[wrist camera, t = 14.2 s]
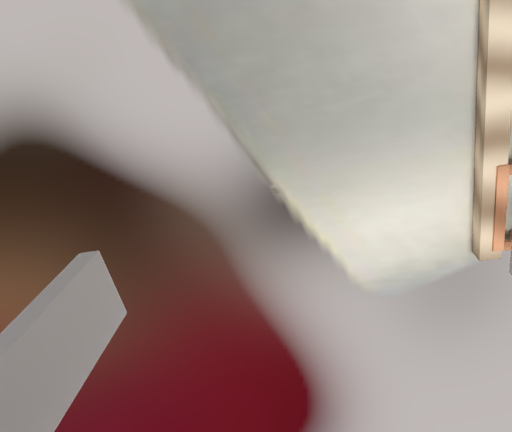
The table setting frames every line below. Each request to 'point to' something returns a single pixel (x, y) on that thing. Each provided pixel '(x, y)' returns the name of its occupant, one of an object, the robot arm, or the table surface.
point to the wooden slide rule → (492, 129)
